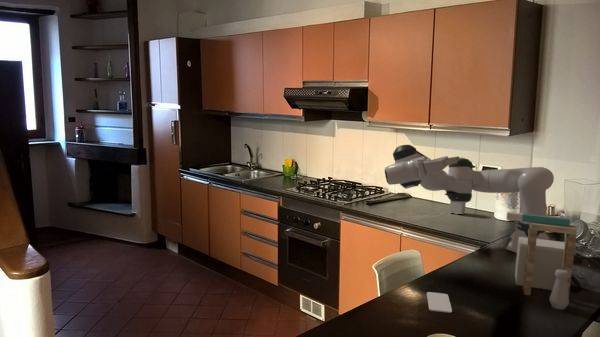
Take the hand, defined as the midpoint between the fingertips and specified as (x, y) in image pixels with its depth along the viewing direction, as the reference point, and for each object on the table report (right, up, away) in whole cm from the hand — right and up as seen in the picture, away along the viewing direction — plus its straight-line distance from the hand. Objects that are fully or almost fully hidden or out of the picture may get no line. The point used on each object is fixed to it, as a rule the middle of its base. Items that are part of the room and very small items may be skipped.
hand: (458, 159), depth 192 cm
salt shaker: (+25, -51, -27) cm, 63 cm away
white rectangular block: (+29, -47, -6) cm, 56 cm away
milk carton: (+33, -31, +103) cm, 113 cm away
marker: (+22, -23, -18) cm, 37 cm away
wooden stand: (+26, -49, -16) cm, 58 cm away
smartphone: (-15, -50, -26) cm, 58 cm away
